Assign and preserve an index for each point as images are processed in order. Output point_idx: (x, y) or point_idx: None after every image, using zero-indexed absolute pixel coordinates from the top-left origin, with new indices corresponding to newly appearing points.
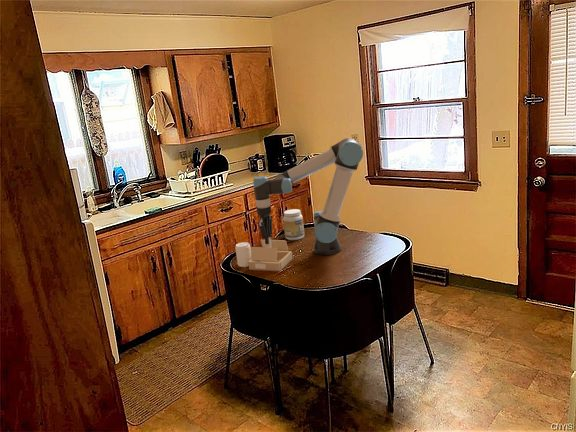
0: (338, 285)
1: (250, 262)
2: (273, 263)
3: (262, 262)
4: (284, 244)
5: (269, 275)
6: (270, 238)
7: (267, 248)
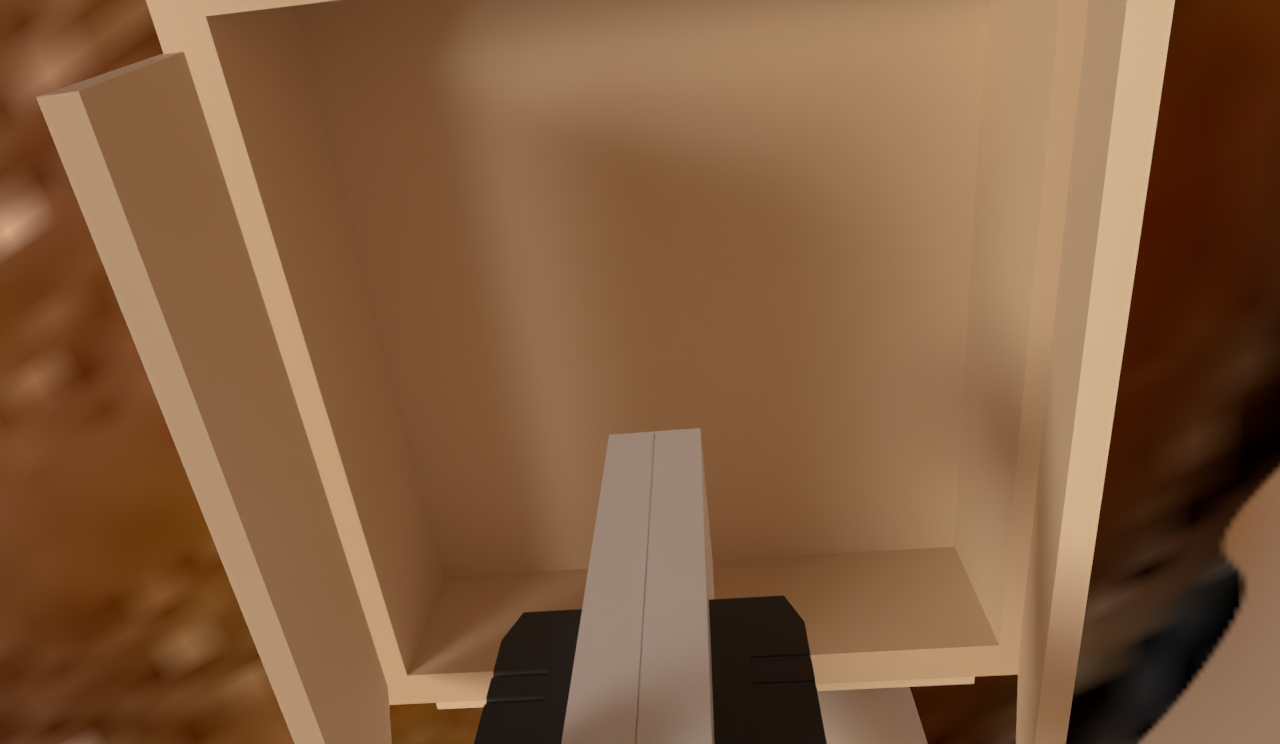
0: None
1: None
2: None
3: None
4: (163, 165)
5: (1275, 11)
6: (577, 715)
7: (1104, 436)
